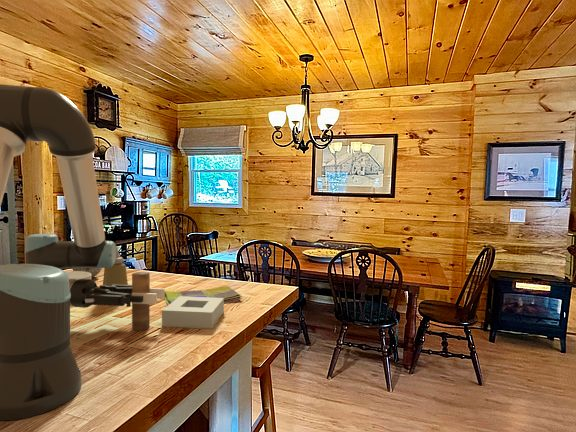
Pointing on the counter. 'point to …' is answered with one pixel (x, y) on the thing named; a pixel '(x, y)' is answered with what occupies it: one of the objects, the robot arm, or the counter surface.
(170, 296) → the dish towel
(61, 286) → the robot arm
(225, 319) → the counter surface
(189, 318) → the socket block
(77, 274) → the cereal bowl
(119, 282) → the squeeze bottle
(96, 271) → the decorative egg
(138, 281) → the walnut dowel
